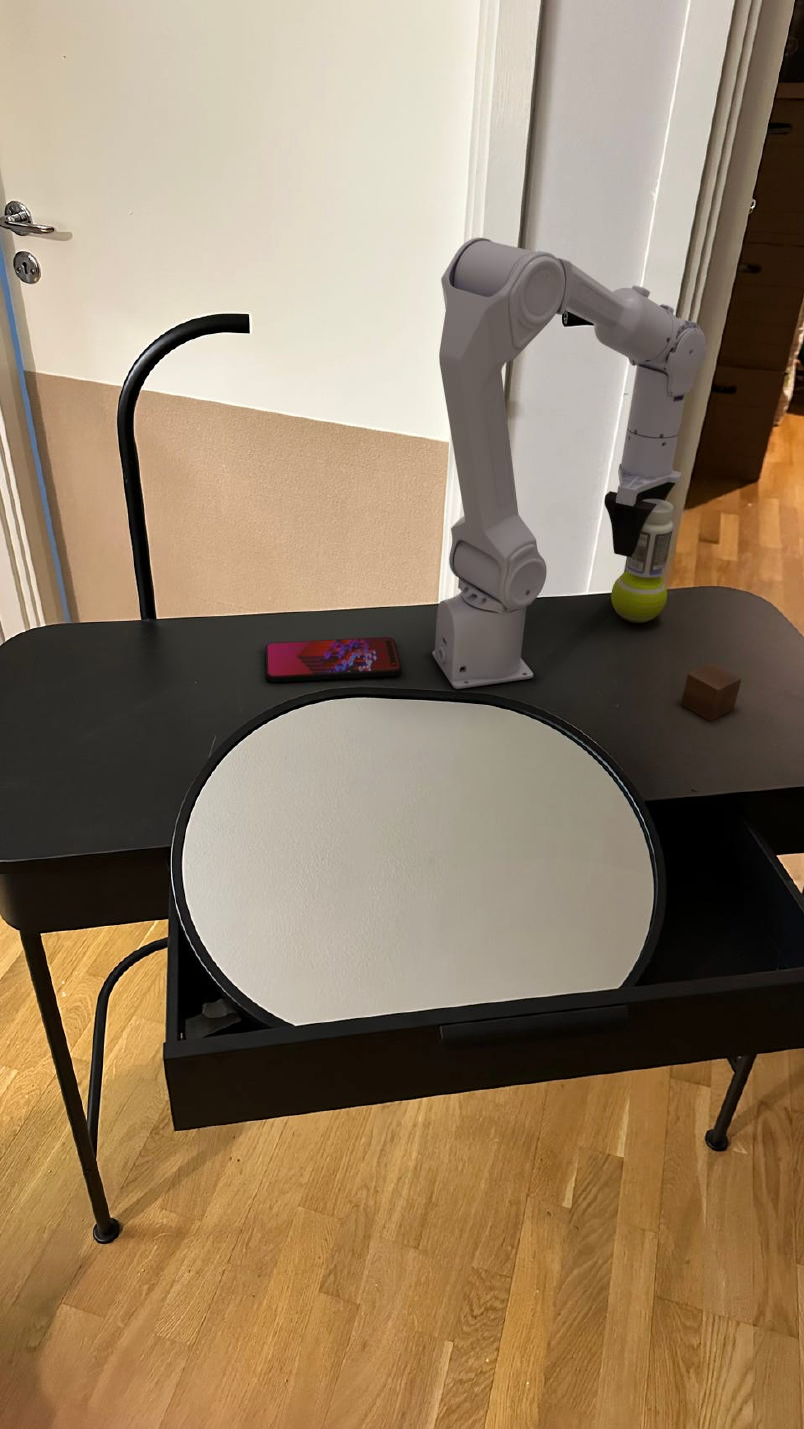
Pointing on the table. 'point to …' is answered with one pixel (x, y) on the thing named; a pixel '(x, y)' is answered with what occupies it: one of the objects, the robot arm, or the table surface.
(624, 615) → the tennis ball
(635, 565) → the pill bottle
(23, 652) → the table surface
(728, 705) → the walnut block
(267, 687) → the table surface
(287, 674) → the smartphone
